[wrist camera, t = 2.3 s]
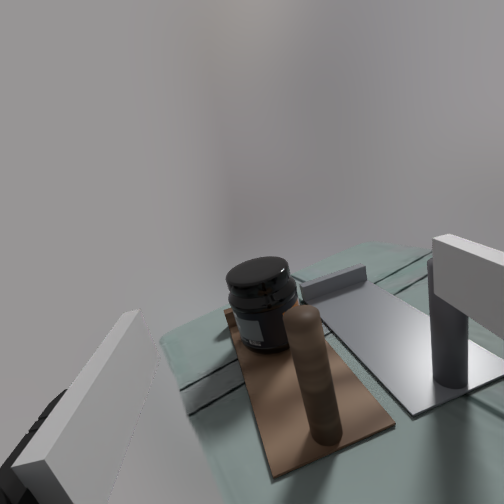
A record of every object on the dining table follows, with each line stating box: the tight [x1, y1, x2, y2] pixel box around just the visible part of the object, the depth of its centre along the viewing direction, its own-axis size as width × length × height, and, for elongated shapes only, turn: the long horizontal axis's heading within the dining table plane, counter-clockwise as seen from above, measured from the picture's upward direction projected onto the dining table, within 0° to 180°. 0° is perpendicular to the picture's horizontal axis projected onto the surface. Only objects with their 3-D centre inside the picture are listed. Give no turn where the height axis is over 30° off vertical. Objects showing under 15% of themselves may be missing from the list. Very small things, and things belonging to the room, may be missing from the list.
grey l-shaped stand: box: [300, 258, 504, 417], centre depth 40 cm, size 28×13×14 cm, turn 13°
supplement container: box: [226, 257, 300, 355], centre depth 44 cm, size 10×10×12 cm
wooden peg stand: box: [224, 305, 396, 479], centre depth 38 cm, size 28×13×14 cm, turn 13°
